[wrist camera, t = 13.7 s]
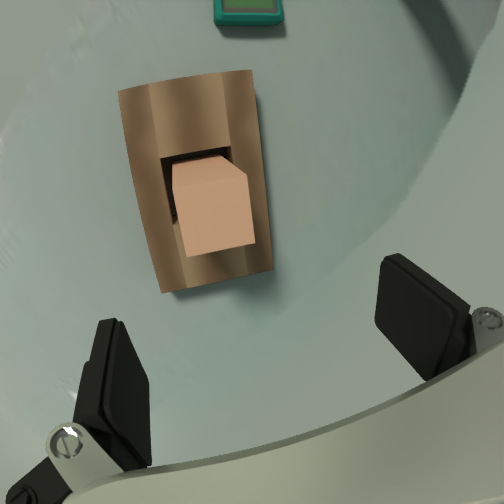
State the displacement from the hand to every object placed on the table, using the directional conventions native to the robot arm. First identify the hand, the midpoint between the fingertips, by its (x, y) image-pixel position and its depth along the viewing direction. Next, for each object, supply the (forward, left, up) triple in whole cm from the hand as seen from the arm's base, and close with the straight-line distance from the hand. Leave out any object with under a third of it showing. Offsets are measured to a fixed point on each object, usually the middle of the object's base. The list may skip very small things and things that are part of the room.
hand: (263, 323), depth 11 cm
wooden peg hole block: (0, 0, -26) cm, 26 cm away
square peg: (0, 0, -26) cm, 26 cm away
